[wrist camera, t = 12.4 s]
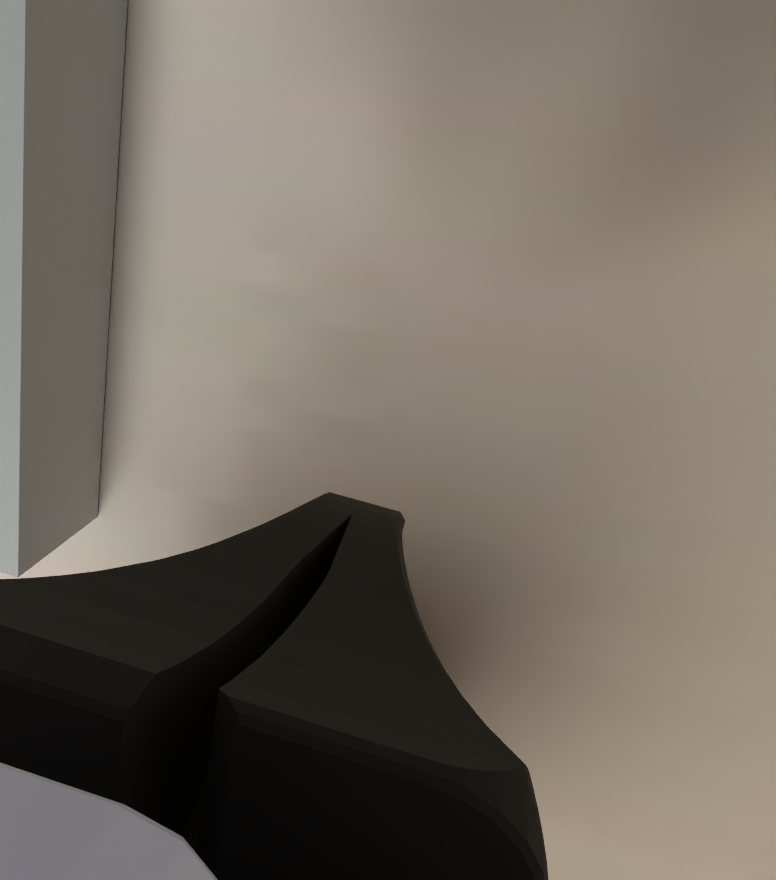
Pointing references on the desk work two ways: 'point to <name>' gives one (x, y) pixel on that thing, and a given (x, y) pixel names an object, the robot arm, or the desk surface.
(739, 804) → the desk surface
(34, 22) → the slate slab
